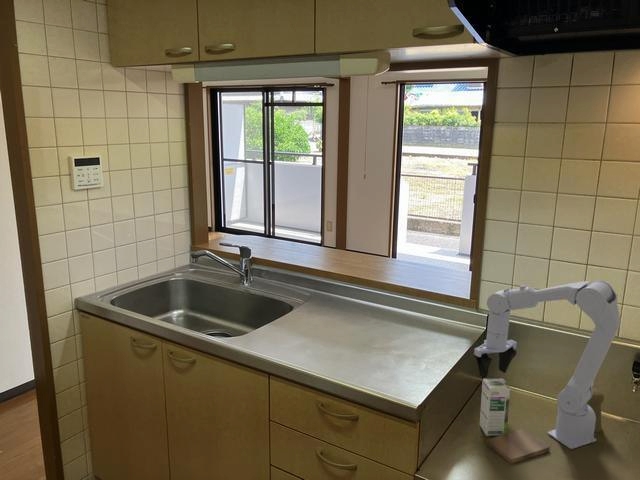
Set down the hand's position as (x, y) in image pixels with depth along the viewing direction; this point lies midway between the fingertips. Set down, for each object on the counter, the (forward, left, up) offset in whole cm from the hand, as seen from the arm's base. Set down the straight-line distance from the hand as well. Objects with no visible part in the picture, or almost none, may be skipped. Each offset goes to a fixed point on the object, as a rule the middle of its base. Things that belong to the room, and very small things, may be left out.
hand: (492, 373), depth 154 cm
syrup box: (+8, +10, -11) cm, 17 cm away
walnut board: (+7, +19, -11) cm, 23 cm away
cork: (-19, +19, -11) cm, 29 cm away
